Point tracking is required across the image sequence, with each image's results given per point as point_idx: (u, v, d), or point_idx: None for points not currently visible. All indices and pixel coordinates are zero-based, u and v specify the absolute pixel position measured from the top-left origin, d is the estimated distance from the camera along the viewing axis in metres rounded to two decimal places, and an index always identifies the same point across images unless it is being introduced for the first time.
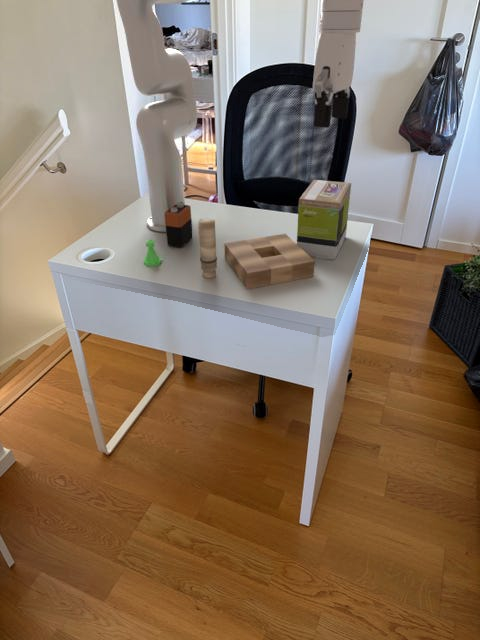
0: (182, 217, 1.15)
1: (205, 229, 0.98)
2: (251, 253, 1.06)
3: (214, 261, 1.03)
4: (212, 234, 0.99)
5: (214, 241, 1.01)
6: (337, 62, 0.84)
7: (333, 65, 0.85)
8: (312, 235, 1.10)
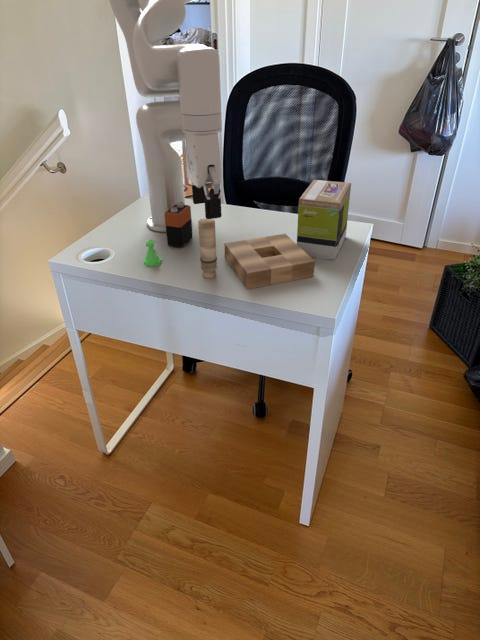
0: (182, 216, 1.15)
1: (205, 229, 0.98)
2: (251, 253, 1.06)
3: (214, 261, 1.03)
4: (212, 234, 0.99)
5: (214, 241, 1.01)
6: (219, 159, 0.88)
7: (217, 163, 0.88)
8: (312, 235, 1.10)
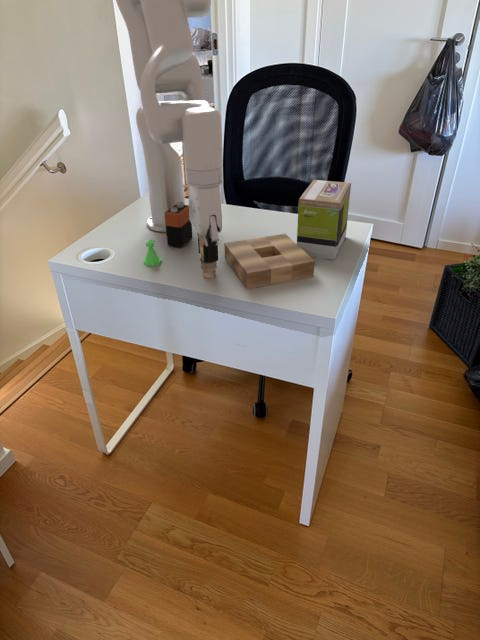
0: (182, 216, 1.15)
1: None
2: (251, 253, 1.06)
3: (214, 261, 1.03)
4: None
5: None
6: (220, 209, 0.94)
7: (218, 213, 0.93)
8: (312, 235, 1.10)
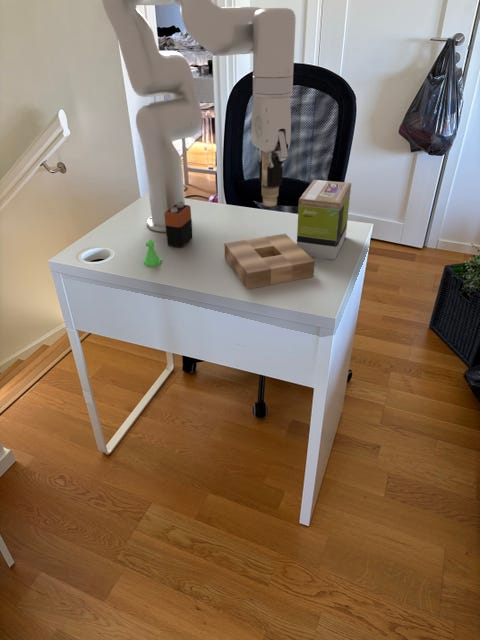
0: (182, 217, 1.15)
1: None
2: (251, 253, 1.06)
3: (277, 187, 0.97)
4: None
5: None
6: (290, 123, 0.88)
7: (287, 127, 0.88)
8: (312, 235, 1.10)
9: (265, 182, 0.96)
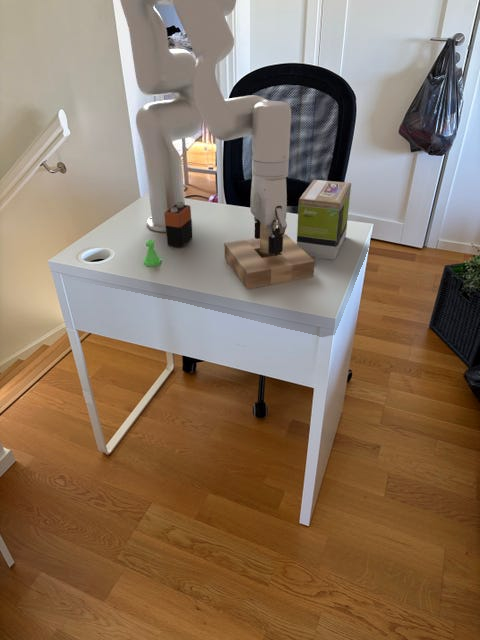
0: (182, 217, 1.15)
1: None
2: (251, 253, 1.06)
3: (273, 253, 1.06)
4: (274, 227, 1.02)
5: None
6: (286, 201, 0.96)
7: (283, 204, 0.96)
8: (312, 235, 1.10)
9: (263, 249, 1.05)
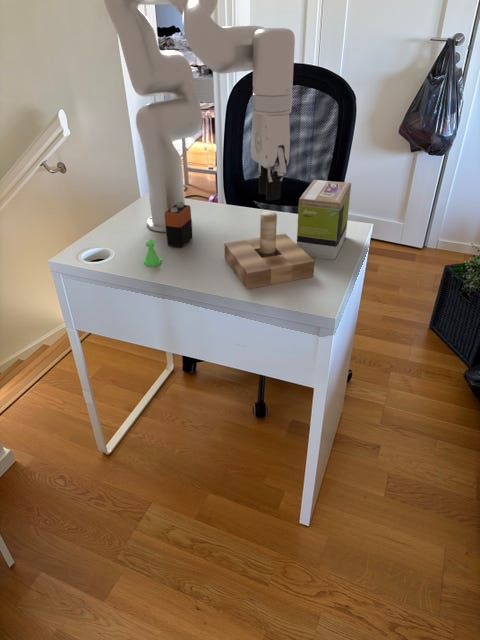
0: (182, 217, 1.15)
1: (268, 222, 1.01)
2: (251, 253, 1.06)
3: (273, 253, 1.06)
4: (274, 227, 1.02)
5: (275, 233, 1.04)
6: (289, 140, 0.90)
7: (286, 144, 0.89)
8: (312, 235, 1.10)
9: (263, 249, 1.05)
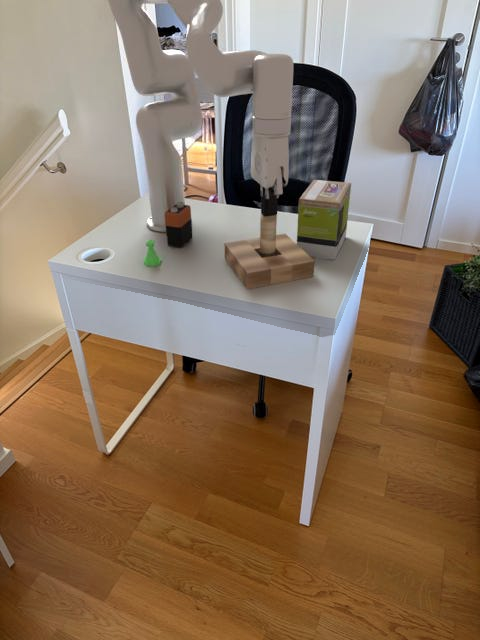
0: (182, 217, 1.15)
1: (268, 222, 1.01)
2: (251, 253, 1.06)
3: (273, 253, 1.06)
4: (274, 227, 1.02)
5: (275, 233, 1.04)
6: (288, 161, 0.92)
7: (285, 165, 0.92)
8: (312, 235, 1.10)
9: (263, 249, 1.05)
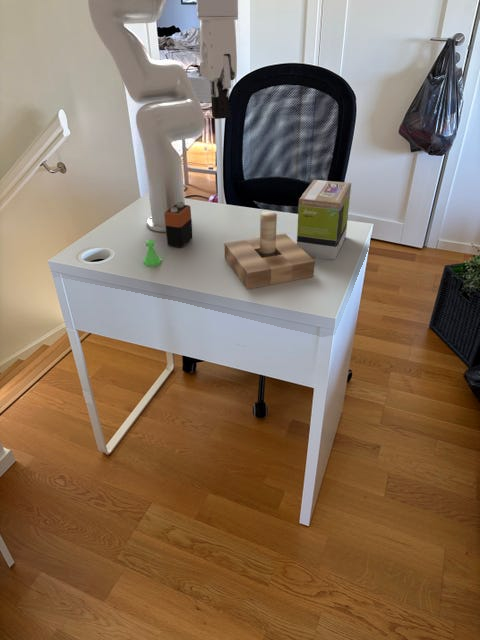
0: (182, 217, 1.15)
1: (268, 221, 1.01)
2: (251, 253, 1.06)
3: (273, 253, 1.06)
4: (274, 227, 1.02)
5: (275, 233, 1.04)
6: (235, 49, 0.85)
7: (233, 53, 0.85)
8: (312, 235, 1.10)
9: (263, 249, 1.05)
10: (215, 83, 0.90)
